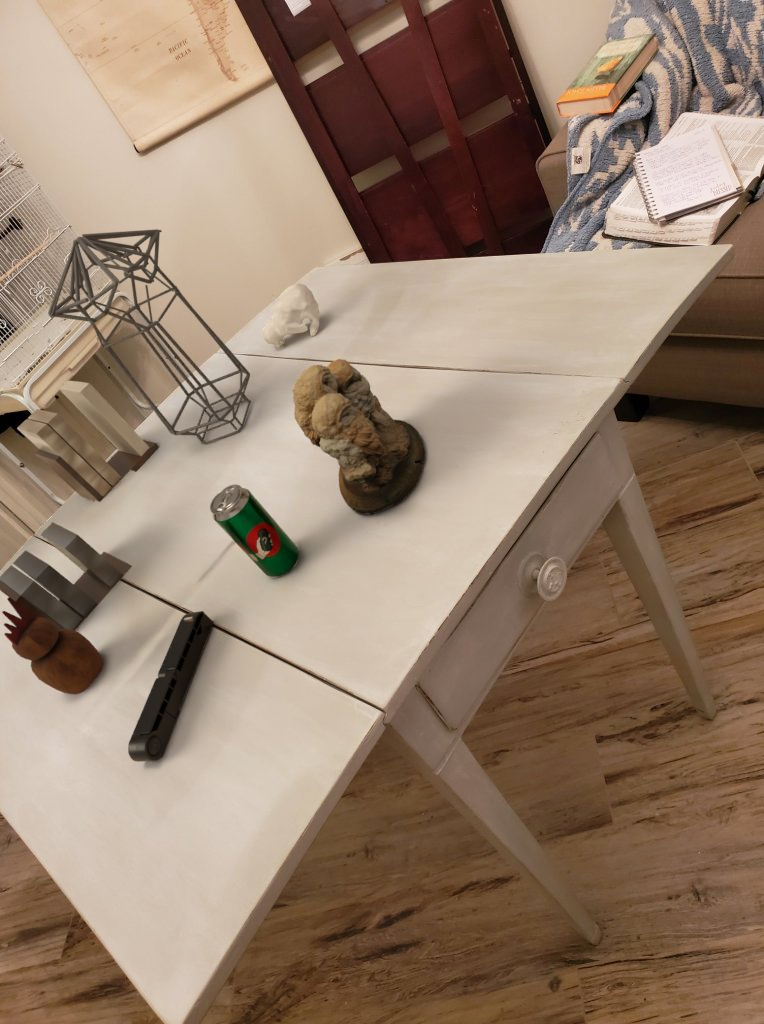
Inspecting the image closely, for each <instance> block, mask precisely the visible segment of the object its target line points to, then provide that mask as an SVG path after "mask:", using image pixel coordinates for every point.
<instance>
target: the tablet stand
mask: <svg viewBox="0 0 764 1024" xmlns="http://www.w3.org/2000/svg"><path fill="white" fill-rule="evenodd" d="M213 626H214V620H212V618H211V617H209V616H208V614H206V612H205V611H203V610H200V611H193V612H188V613H186V614H184V615H183V616H182V617H181V619H180V621H179V623H178V626H177V627H176V631H175V632H174V635H173V638H172V640H171V641H170V644H169V648H168V649H167V651H166V653H165V657H164V659H163V661H162V663H161V666H160V668H159V669H158V673H157V678H155V680H154V681H153V685H152V686H151V689H150V691H149V693H148V696H147V699H146V701H145V703H144V706H143V708H142V711H141V713H140V715H139V717H138V720H137V722H136V725H135V727H134V729H133V732H132V735H131V737H130V739H129V741H128V745H127V747H128V749H127V752H128V755H129V758H130V759H131V760H132V761H133V762H138V763H141V762H156V761H158V760H160V759H161V758H163V756H164V755H165V752H166V749H167V746H168V743H169V741H170V739H171V735H172V734H173V731H174V728H175V725H176V723H177V720H178V719H179V715H180V713H181V707H182V704H183V703H184V700H185V697H186V695H187V692H188V689H189V688H190V687H189V686H190V685H191V681H192V679H193V676H194V673H195V672H196V669H197V666H198V663H199V661H200V659H201V656H202V654H203V651H204V648H205V646H206V643H207V641H208V638H209V636H210V633H211V630H212V628H213Z"/></svg>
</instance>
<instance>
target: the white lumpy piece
mask: <svg viewBox="0 0 764 1024" xmlns="http://www.w3.org/2000/svg"><path fill="white" fill-rule="evenodd" d="M306 319H309V321H310V326H309V328H308V325H306V324H303V321H304V320H306ZM319 327H320V308H319V304H318V302H317V300H316V298H315V296H314V294H313V291H312V290H311V289H310V288H309V287H308V286H307V285H306V284H304V283H301V282H299V283H295V284H292V285H289V286H287V287H286V288H285V289H283V290H282V291H281V293H280V294H279V297H278V299H277V301H276V303H275V306H274V310H273V312H272V317H271V318H270V321H269V322H268V323H267V324H266V325H265V326H264V327H263V329H262V333H261V335H262V338H263V340H264V342H265V343H266V344H267V345H272V346H274V347H277V348H283V345H284V344H285V340H284V339H285V337H286V336H290V335H293V334H300V333H306V332H307V331H308V329H309V335H310V336H311V337H314V336H315V335H317V333H318V330H319Z"/></svg>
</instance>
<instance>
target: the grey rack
mask: <svg viewBox="0 0 764 1024" xmlns="http://www.w3.org/2000/svg"><path fill="white" fill-rule="evenodd" d="M40 536H41V537H42V538H43V539H44V540H45V541H46V542H48V543H49V544H50V545H51V546H53V547H54V548H55V549H56V550H57V551H59V552H60V553H61V554H62V555H63V556H64V557H66V558H67V559H68V560H70V561H71V562H72V563H73V564H74V565H75V566H76V567H78V568H79V569H80V570H82V572H83V574H81V575H80V577H78V579H77V580H76V581H75V582H74V583H73V582H71V581H70V580H68V578H66V577H65V576H64V575H63V574H62V573H60V572H59V571H58V570H57V569H56V568H54V567H53V566H51V565H50V564H49V563H47V562H45V560H43V559H41V558H39V557H37V556H36V555H34V554H33V553H31V552H30V551H28V550H26V549H25V550H24V551H23V552H22V553H21V554H20V555H19V556H18V557H17V558H16V559H15V560H14V561H13V562H12V565H10V566H8V568H7V569H5V571H4V572H3V573H2V574H1V575H0V592H2V593H3V594H4V595H5V596H6V597H7V598H11V599H13V600H14V601H15V602H17V603H18V604H19V605H21V606H22V607H23V608H25V609H26V610H28V611H29V612H30V613H31V614H33V615H34V616H35V617H36V618H38V617H42V618H46V619H48V620H49V621H51V622H52V623H53V624H54V625H55V626H56V628H57V630H58V631H59V630H66V629H69V630H75V631H77V629H78V628H79V627H80V626H81V625H82V624H83V623H84V621H85V620H86V619H87V618H89V616H90V615H91V613H93V612H94V610H95V609H96V608H97V606H98V605H100V603H101V602H102V601H103V600H104V599H105V598H106V597H107V595H108V594H110V592H112V590H113V589H114V587H116V585H117V584H119V582H120V581H121V580H122V578H123V577H125V575H126V574H127V573H128V572H129V571H130V570H131V568H132V567H133V565H132V564H129V563H128V562H125V561H123V560H122V559H120V558H117V557H116V556H114V555H112V554H109V553H108V552H106V551H103V552H102V553H101V554H100V553H99V552H98V551H97V550H96V549H95V548H93V546H91V545H90V544H89V543H88V542H86V541H85V540H84V538H83V537H81V536H80V535H79V534H77V533H75V532H73V531H71V530H69V529H67V528H65V527H64V526H61V525H59V524H58V523H55V522H51V523H50V524H49V525H48V526H47V527H46V528H45V529H44V530H43V531H42V532H41V533H40ZM14 566H15V567H14ZM17 568H18V569H17Z"/></svg>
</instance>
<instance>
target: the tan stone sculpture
mask: <svg viewBox="0 0 764 1024" xmlns="http://www.w3.org/2000/svg"><path fill="white" fill-rule="evenodd" d="M292 392H293V393H292V394H293V398H292V399H293V400H292V401H293V404H294V414H293V415H294V420H295V421H296V423H297V425H298V427H299V428H300V430H301V431H302V433H303V435H304V436H305V437H306V438H307V439H308V440H310V443H311V444H312V445H313V446H316V447H318V448H320V450H321V451H322V452H323V453H325V454H327V455H329V456H330V457H331V458H333V459H336V460H337V463H338V465H339V470H338V486H339V487H338V488H339V491H340V494H341V497H342V499H343V500H344V502H345V504H346V505H347V506H348V507H349V508H350V509H351V510H352V511H354V512H356V513H358V514H360V515H365V514H368V515H373V514H374V515H375V513H379V512H381V511H384V510H386V509H387V508H389V507H392V506H396V505H397V504H399V503H401V502H402V501H404V500H405V499H406V498H407V497H408V496H409V495H410V494H411V493H412V492H413V491H414V489H415V488H416V487H417V485H418V483H419V481H420V478H421V474H422V473H423V470H424V467H423V465H424V463H425V461H426V449H425V444H424V440H423V438H422V436H421V435H420V433H419V431H418V430H417V429H416V428H415V427H414V425H412V424H411V423H409V422H407V421H405V420H400V419H394V418H393V417H391V415H390V414H389V413H388V412H387V411H386V410H385V409H384V408H383V407H382V405H381V402H380V400H379V398H378V397H377V395H376V394H373V392H372V391H371V384H370V383H369V380H368V379H367V378H366V377H365V376H364V375H363V374H362V373H361V372H360V371H359V370H358V369H357V368H356V367H354V366H353V365H351V363H349V361H348V360H347V359H343V358H338V359H336V360H333V361H331V362H330V363H329V364H328V365H327V366H325V365H323V364H312V365H310V366H309V367H308V368H307V369H305V370H304V371H303V372H302V373H301V374H300V376H299V377H298V379H297V380H296V382H295V383H294V385H293V388H292ZM418 461H420V462H418ZM415 462H416V463H415ZM418 480H419V481H418ZM417 482H418V483H417ZM416 484H417V485H416ZM414 487H415V488H414ZM413 488H414V489H413ZM412 490H413V491H412ZM411 491H412V492H411ZM410 492H411V493H410ZM409 493H410V494H409ZM408 494H409V495H408ZM406 496H407V497H406ZM405 497H406V498H405ZM404 498H405V499H404ZM403 499H404V500H403Z"/></svg>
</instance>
